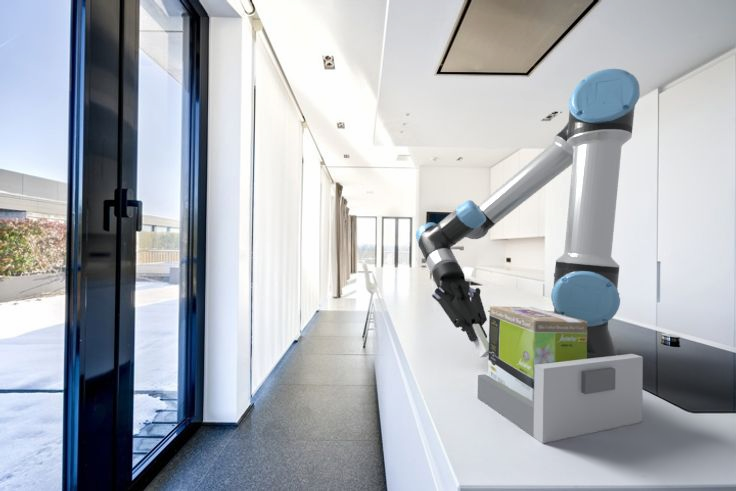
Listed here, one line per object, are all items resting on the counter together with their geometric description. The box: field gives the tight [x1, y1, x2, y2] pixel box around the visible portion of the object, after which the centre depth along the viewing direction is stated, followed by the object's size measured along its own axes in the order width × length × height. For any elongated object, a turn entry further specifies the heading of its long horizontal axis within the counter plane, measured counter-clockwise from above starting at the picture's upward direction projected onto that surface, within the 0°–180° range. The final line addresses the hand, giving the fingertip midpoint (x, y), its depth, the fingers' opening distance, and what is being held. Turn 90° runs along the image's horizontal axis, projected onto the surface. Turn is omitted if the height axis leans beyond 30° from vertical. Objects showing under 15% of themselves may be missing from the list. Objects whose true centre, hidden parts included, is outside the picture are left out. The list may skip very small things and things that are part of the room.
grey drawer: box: [477, 353, 644, 444], centre depth 52 cm, size 20×14×10 cm
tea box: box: [487, 305, 587, 402], centre depth 59 cm, size 15×10×15 cm
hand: (486, 354), depth 66 cm, fingers closed
